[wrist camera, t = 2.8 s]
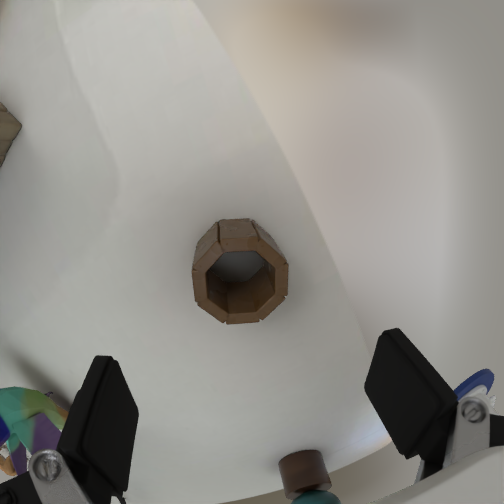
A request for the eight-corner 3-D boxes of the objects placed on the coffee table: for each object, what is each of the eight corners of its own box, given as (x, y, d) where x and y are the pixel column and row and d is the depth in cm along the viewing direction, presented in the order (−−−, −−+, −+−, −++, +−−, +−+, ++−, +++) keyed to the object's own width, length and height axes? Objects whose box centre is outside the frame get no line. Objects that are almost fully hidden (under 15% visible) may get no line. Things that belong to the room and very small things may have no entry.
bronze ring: (274, 216, 20) (289, 235, 16) (273, 288, 22) (286, 319, 18) (194, 221, 20) (188, 241, 15) (201, 293, 21) (198, 326, 17)
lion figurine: (-7, 445, 30) (-18, 471, 21) (-19, 431, 28) (-32, 457, 19) (34, 462, 31) (24, 493, 23) (21, 449, 29) (9, 481, 21)
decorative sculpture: (23, 292, 20) (-68, 398, 6) (142, 419, 26) (126, 534, 12) (-27, 344, 21) (-80, 417, 7) (64, 437, 27) (41, 516, 13)
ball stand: (327, 444, 32) (355, 519, 20) (319, 464, 34) (341, 530, 22) (276, 453, 31) (295, 534, 19) (274, 473, 34) (290, 542, 21)
